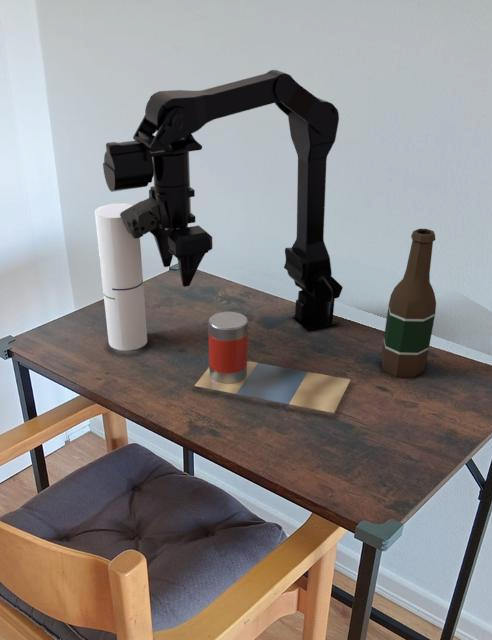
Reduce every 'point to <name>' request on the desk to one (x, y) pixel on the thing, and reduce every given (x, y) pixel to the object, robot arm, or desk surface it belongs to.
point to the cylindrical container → (121, 279)
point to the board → (285, 386)
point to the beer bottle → (411, 312)
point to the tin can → (228, 347)
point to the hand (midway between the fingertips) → (176, 276)
